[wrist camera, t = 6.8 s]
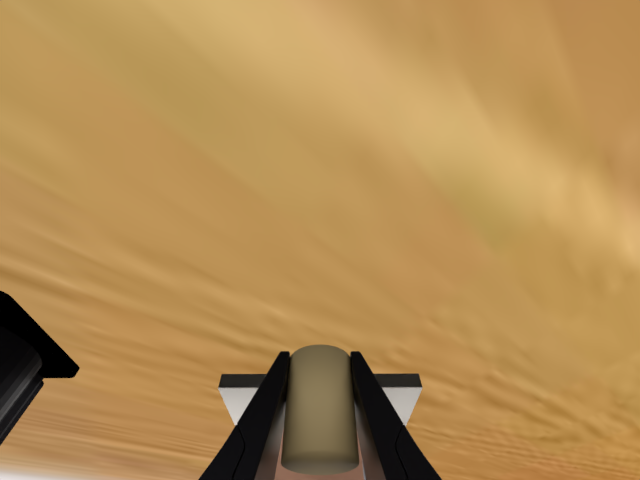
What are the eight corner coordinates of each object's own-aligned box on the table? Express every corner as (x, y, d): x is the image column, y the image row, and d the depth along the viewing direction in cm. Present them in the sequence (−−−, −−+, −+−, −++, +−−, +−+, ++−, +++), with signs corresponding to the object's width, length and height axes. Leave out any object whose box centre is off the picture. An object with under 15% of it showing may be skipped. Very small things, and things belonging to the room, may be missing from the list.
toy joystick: (254, 324, 13) (228, 449, 9) (387, 326, 13) (412, 450, 9) (277, 456, 23) (270, 538, 20) (350, 457, 23) (356, 538, 20)
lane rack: (221, 374, 17) (207, 430, 15) (418, 373, 17) (433, 429, 15) (270, 490, 32) (266, 526, 30) (372, 490, 32) (376, 526, 30)
